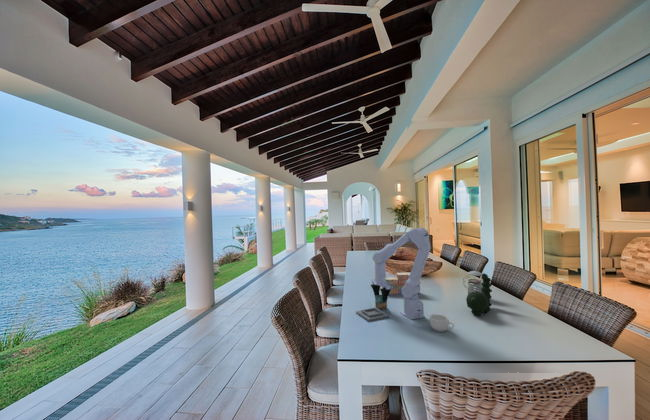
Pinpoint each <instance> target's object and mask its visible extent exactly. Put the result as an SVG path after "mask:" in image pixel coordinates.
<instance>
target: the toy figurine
mask: <svg viewBox="0 0 650 420" xmlns="http://www.w3.org/2000/svg"><path fill="white" fill-rule="evenodd" d="M481 279H482V282H481V283H482V288H481V291H482V292H477V291H474V292H471V293H470V294H468V293H467V294H468V296H466V299H465V301H466V306H467V308H469V309H471V310H470V311H471V314H472V315H474V316H477V317H478V316H479V317H480V316H481V315H482V312H484V313H489V311H491V307H492V305H493V304H492V303H491V299H492V295H491V293H492V292H493V290H492V289H491V287H492V283H491V280H492V279H491V278H489V276H488V274H487V273H482V276H481Z"/></svg>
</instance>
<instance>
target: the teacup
mask: <svg viewBox="0 0 650 420" xmlns="http://www.w3.org/2000/svg"><path fill="white" fill-rule="evenodd" d="M429 324H430V327H431V328H432V329H433V330H434V331H436V332H439V333H443V332H446V331H447V330H451V329H453V328H454V327H455V325H454V323H453V322H452V321H450V318H449V317H448V316H446V315H444V314H439V313H434V314H431V315H429ZM449 325H452V326H451V327H450V326H449Z"/></svg>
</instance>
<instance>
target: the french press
mask: <svg viewBox="0 0 650 420" xmlns="http://www.w3.org/2000/svg"><path fill="white" fill-rule="evenodd" d="M472 257H473V261H474V262H473V263H474V265H473V266H474V267H473V268H474V270H472V271H467V272H466V274H467V275H466V276H464V277H463V279H462V285H463V286H464V287H465V288H466V289H467V294H466V295H465V297H467V296H468V294H470V293H471V292H474V291H477V292H482V291H481V288H482V287H483V286H482V282H483V280H480V279H477V278H470V277H469V276H473V277H482V274H483V273H481V272H480V271H477V270H476V265H475V264H476V263H475V261H476V260H475V258H477V255H476V254H473V255H472ZM468 275H469V276H468ZM465 279H468V282H467V286H466V283H465V282H466V280H465Z"/></svg>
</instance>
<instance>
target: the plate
mask: <svg viewBox="0 0 650 420" xmlns="http://www.w3.org/2000/svg"><path fill="white" fill-rule="evenodd" d="M355 313H356V315H358V316H359V317H361V318H362V319H364V320H365V321H366V322H373V321H379V320H383V319H387V318H390V314H388V313H386V312H384V311H383V310H380V309H378V308H376V307H370V308H365V309H361V310H356V312H355Z"/></svg>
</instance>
